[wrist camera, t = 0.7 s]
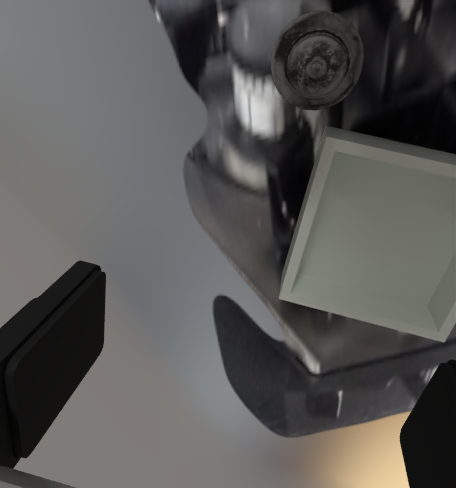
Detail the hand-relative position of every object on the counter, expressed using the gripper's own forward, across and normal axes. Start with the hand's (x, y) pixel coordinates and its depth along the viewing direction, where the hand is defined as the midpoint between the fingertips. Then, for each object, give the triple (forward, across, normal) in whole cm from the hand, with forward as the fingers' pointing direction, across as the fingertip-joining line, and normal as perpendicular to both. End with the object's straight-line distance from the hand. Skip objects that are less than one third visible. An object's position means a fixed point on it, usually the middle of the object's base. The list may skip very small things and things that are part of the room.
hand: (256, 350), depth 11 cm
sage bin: (+24, -8, +5) cm, 26 cm away
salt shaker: (+24, 0, -6) cm, 25 cm away
